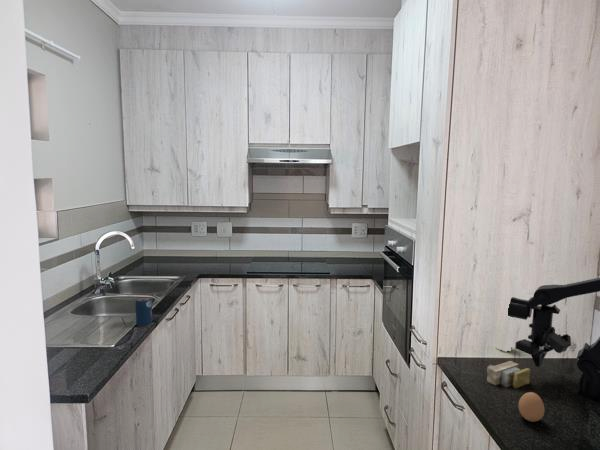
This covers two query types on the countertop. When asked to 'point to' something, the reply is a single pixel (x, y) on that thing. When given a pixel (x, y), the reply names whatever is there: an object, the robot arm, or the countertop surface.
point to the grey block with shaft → (507, 376)
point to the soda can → (143, 311)
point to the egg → (531, 407)
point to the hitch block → (499, 372)
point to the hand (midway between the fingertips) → (537, 366)
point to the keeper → (521, 378)
